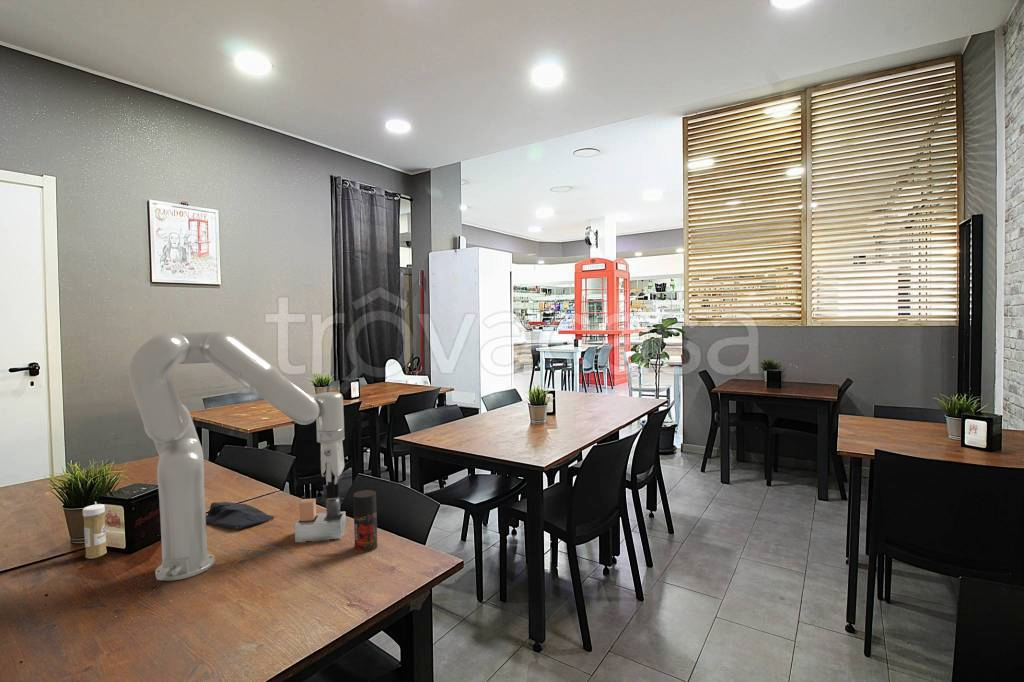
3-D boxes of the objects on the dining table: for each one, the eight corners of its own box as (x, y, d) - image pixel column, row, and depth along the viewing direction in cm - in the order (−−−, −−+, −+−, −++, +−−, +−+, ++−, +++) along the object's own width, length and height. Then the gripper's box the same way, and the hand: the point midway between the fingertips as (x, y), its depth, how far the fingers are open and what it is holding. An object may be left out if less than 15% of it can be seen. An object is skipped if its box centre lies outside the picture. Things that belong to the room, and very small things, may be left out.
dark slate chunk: (230, 537, 145) (230, 521, 145) (194, 521, 157) (194, 506, 157) (279, 519, 158) (279, 504, 158) (243, 506, 170) (242, 492, 170)
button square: (313, 520, 142) (312, 502, 142) (300, 521, 142) (299, 503, 141) (316, 515, 146) (315, 498, 146) (303, 516, 145) (302, 499, 145)
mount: (341, 538, 142) (340, 519, 141) (295, 542, 140) (294, 523, 139) (345, 527, 149) (345, 509, 149) (302, 531, 147) (301, 512, 147)
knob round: (338, 518, 143) (338, 501, 143) (325, 519, 143) (324, 502, 142) (341, 513, 147) (340, 496, 147) (327, 514, 146) (327, 497, 146)
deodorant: (350, 549, 135) (348, 495, 134) (366, 541, 140) (364, 488, 139) (366, 554, 132) (364, 498, 131) (382, 545, 137) (380, 491, 137)
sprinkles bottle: (105, 556, 133) (103, 507, 133) (83, 561, 131) (81, 511, 130) (108, 549, 137) (105, 502, 137) (86, 554, 135) (83, 505, 134)
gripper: (339, 440, 137) (341, 505, 138) (348, 428, 152) (350, 487, 153) (311, 442, 136) (313, 507, 137) (322, 430, 151) (324, 489, 151)
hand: (333, 497), depth 145 cm, fingers closed
